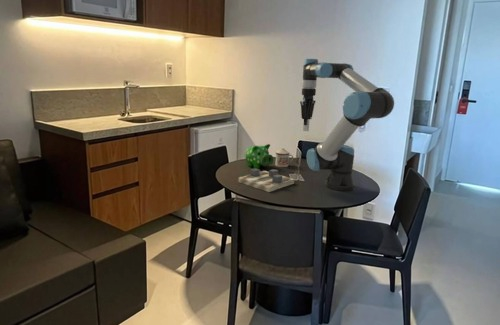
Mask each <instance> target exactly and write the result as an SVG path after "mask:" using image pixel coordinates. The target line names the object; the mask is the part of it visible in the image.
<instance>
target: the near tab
mask: <svg viewBox="0 0 500 325" xmlns="http://www.w3.org/2000/svg"><path fill="white" fill-rule="evenodd" d="M282 176H283V175H281V174H278V175H274V176H273V177H272V182H275V183H279V182H282Z"/></svg>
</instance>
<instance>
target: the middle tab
mask: <svg viewBox="0 0 500 325" xmlns="http://www.w3.org/2000/svg"><path fill="white" fill-rule="evenodd" d="M268 172H269V176H271V177H273V176H274V175H279V170H278V169H269V171H268Z"/></svg>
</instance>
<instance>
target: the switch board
mask: <svg viewBox="0 0 500 325" xmlns="http://www.w3.org/2000/svg"><path fill="white" fill-rule="evenodd" d="M281 176H282V182H279V183H275V182H272V177H271V176H269V171H267V170H262V171H261V170H260V175H258V176H252V175H250V174H247V175H244V176H239V177H238V182H237V183H240V184H243V185H245V186H249V187H253V188H255V189H259V190H261V191H265V192H267V193H270V192H274V191H277V190H279V189H282V188H284V187H285V188H286V187H288V186H291V185H293V184H295V178H291V177H289V176H284V175H281Z"/></svg>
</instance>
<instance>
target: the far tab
mask: <svg viewBox="0 0 500 325" xmlns="http://www.w3.org/2000/svg"><path fill="white" fill-rule="evenodd" d="M249 171H250V174H249V175H252V176H258V175H260V172H261V169H260V168H259V169H256V168H254V167H253V168H251V169H250V170H249Z"/></svg>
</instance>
